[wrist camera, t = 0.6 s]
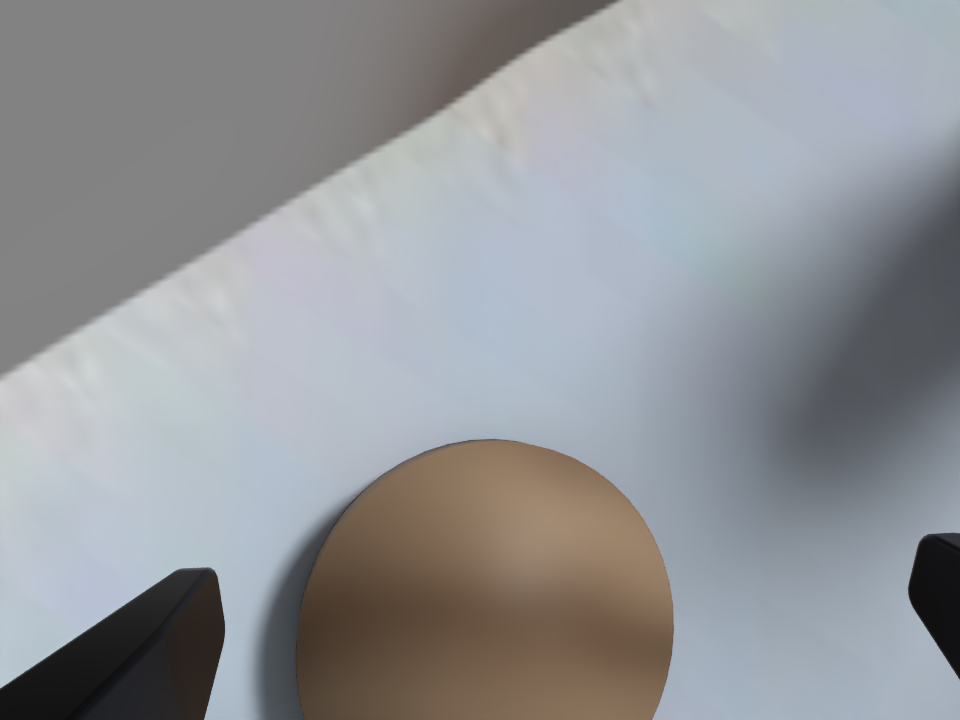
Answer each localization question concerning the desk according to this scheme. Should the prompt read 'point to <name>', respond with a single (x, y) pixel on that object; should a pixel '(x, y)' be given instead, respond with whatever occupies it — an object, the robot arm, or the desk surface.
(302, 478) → the desk surface
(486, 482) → the walnut base
